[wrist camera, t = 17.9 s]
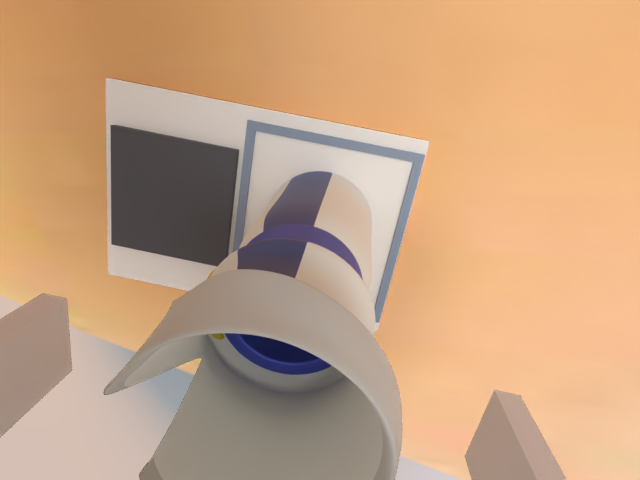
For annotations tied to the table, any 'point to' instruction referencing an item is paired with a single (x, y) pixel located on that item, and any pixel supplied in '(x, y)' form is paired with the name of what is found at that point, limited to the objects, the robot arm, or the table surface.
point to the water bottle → (281, 352)
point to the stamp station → (234, 180)
